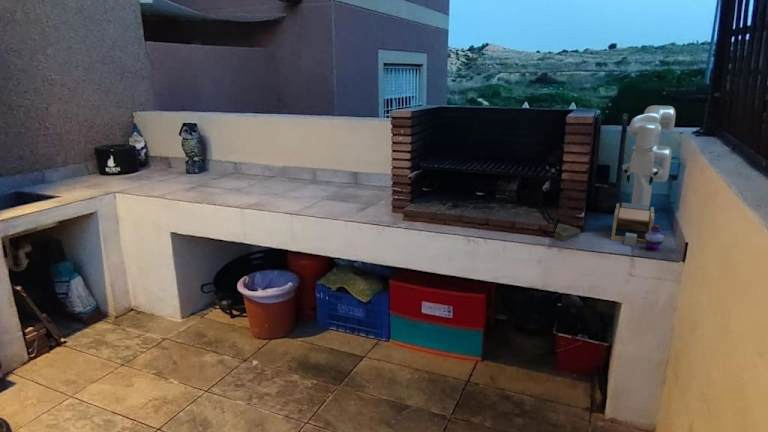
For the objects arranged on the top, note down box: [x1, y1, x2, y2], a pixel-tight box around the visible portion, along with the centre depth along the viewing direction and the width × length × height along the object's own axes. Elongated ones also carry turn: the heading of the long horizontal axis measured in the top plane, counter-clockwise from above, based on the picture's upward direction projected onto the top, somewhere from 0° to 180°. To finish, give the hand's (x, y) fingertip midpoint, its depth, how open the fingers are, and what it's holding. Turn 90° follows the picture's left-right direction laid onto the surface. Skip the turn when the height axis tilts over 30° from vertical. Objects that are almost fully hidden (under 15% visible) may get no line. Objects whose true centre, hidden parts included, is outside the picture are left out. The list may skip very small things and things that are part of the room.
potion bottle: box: [644, 224, 665, 252], centre depth 242 cm, size 9×9×12 cm
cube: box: [623, 232, 638, 247], centre depth 250 cm, size 5×5×5 cm
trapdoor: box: [618, 202, 650, 222], centre depth 260 cm, size 18×14×4 cm
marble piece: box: [553, 222, 581, 242], centre depth 264 cm, size 17×15×4 cm
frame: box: [610, 203, 655, 245], centre depth 261 cm, size 25×18×14 cm
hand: (638, 183), depth 251 cm, fingers open, 9 cm apart
